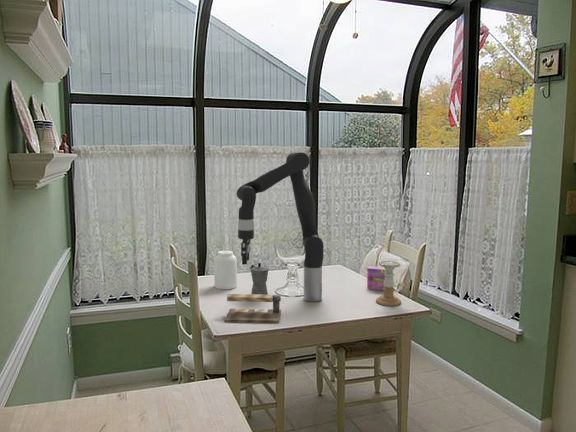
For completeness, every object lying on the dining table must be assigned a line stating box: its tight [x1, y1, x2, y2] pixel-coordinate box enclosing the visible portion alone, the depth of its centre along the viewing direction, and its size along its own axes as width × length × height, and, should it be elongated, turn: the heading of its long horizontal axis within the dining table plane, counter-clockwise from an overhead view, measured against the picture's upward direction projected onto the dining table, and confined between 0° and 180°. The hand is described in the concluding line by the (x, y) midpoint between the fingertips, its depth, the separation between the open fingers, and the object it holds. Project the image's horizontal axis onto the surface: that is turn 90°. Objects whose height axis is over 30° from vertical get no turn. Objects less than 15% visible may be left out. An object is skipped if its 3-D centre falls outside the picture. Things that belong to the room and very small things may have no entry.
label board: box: [224, 301, 282, 324], centre depth 220 cm, size 24×15×6 cm, turn 88°
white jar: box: [213, 249, 238, 290], centre depth 268 cm, size 12×12×20 cm
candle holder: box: [375, 260, 402, 307], centre depth 242 cm, size 12×12×20 cm
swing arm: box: [226, 293, 282, 303], centre depth 224 cm, size 24×5×2 cm, turn 88°
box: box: [366, 265, 386, 291], centre depth 268 cm, size 10×6×12 cm, turn 68°
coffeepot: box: [250, 262, 269, 295], centre depth 251 cm, size 15×9×18 cm, turn 33°
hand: (245, 262), depth 231 cm, fingers open, 8 cm apart
